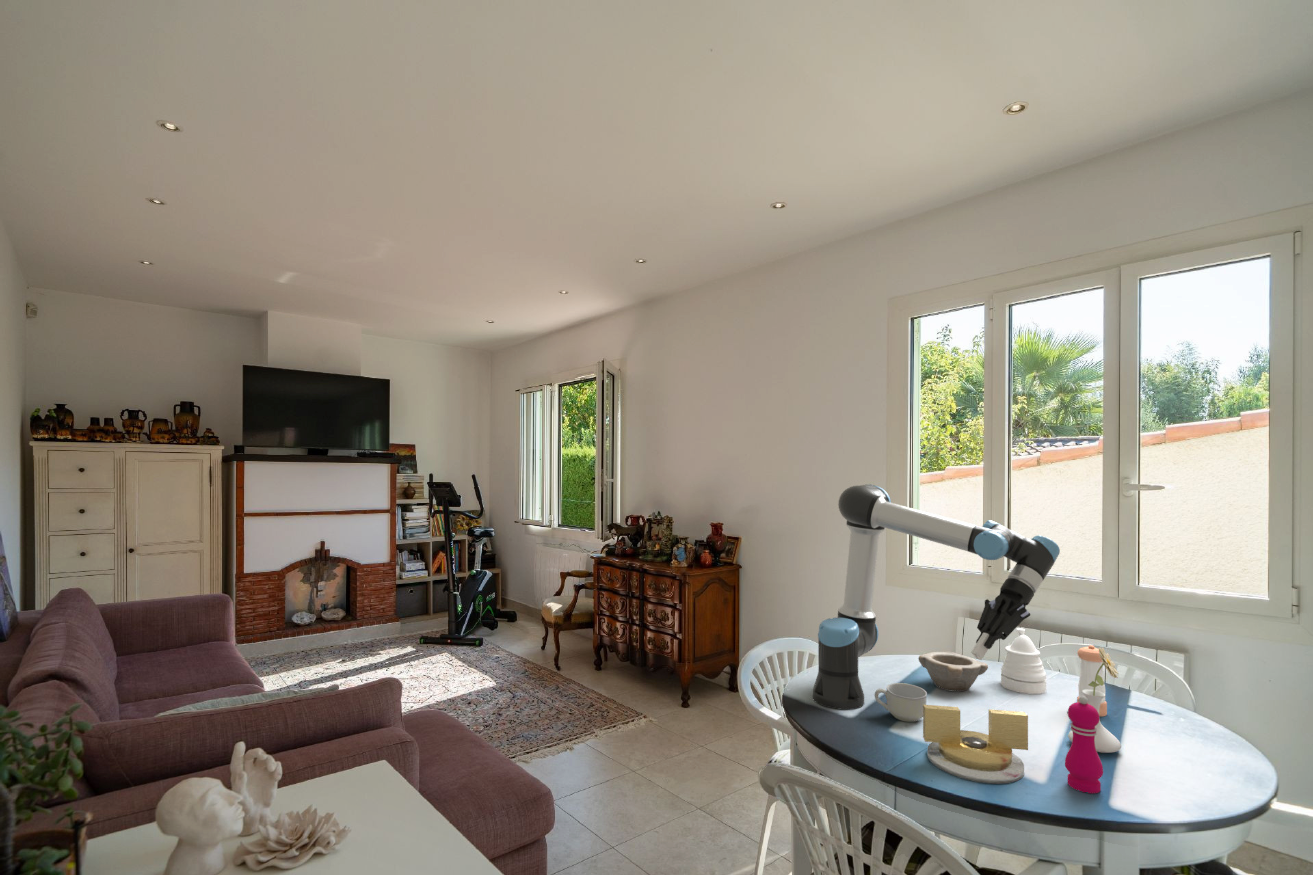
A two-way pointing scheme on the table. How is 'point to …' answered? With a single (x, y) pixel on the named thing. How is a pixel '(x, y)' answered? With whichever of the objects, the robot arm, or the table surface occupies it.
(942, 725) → the gold twin-plate stand
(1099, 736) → the flower in vase
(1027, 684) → the honey pot
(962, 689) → the mortar
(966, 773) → the silver round plate
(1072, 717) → the pepper mill
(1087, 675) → the salt shaker
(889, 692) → the teacup
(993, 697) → the table surface
